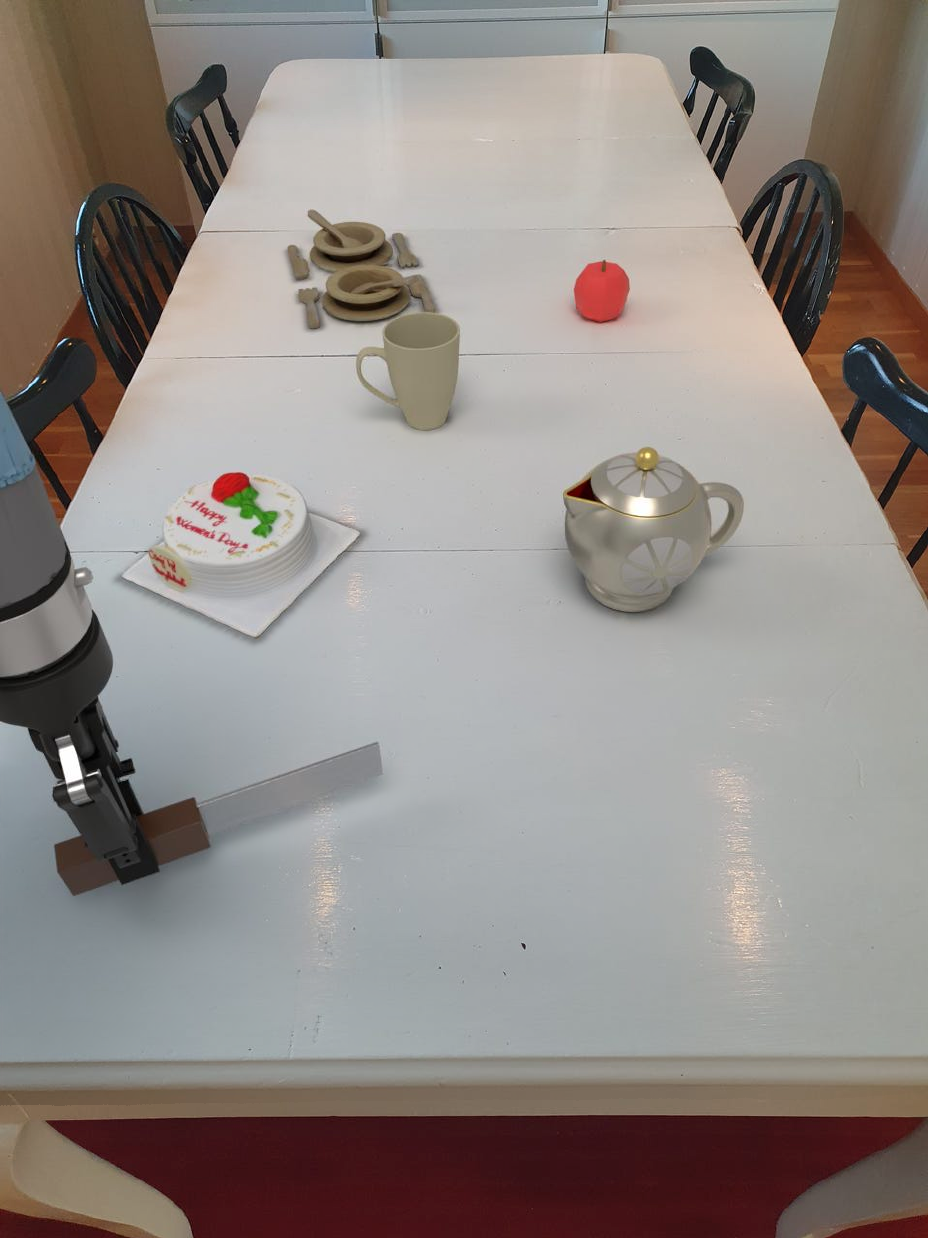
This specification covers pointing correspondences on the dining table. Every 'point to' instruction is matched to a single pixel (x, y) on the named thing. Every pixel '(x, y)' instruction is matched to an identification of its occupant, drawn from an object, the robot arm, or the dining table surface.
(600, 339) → the dining table surface
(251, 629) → the cake
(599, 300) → the apple
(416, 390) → the mug
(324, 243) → the tableware set
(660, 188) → the dining table surface
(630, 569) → the teapot
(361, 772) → the knife
